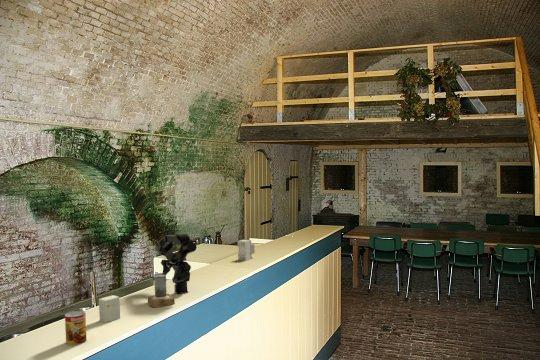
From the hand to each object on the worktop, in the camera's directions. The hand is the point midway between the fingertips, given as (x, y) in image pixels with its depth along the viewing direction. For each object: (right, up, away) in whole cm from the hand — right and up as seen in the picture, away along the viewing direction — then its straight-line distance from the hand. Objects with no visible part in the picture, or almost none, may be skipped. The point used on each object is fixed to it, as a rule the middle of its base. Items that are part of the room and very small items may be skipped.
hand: (168, 278), depth 243 cm
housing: (-3, -9, -5) cm, 11 cm away
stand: (-3, -12, -6) cm, 14 cm away
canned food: (-25, -14, -58) cm, 65 cm away
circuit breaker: (+37, -9, +112) cm, 119 cm away
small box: (-21, -14, -30) cm, 39 cm away
